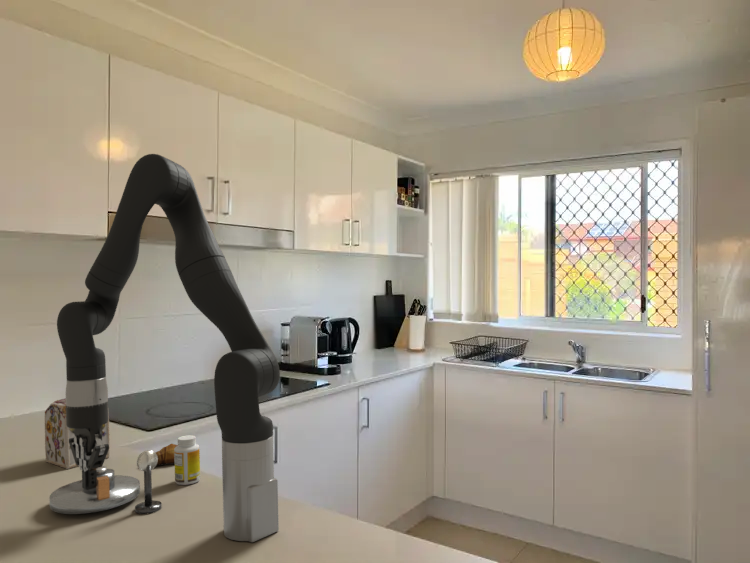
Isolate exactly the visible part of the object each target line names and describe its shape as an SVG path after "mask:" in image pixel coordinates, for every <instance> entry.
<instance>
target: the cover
mask: <svg viewBox="0 0 750 563" xmlns="http://www.w3.org/2000/svg"><path fill="white" fill-rule="evenodd" d="M96 473H97V478H98V477H103V476H108V477H109V490H111V489H113V488H114V487H115V476H114V475H115V470H114V469H113V468H107V466H104V465H102V467H99V468H97V469H96ZM83 492H84V493H87V494H96V493H97V492H96V488H93V489H90V490H86V489H84V488H83Z"/></svg>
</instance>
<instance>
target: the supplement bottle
mask: <svg viewBox="0 0 750 563" xmlns="http://www.w3.org/2000/svg"><path fill="white" fill-rule="evenodd" d="M177 445H178V446H176V447H175V449H174V461H175V464H174V482H175V484H177V485H180V486H188V485H193V484H196V483H197V482H199V481H200V479H201V460H200V459H201V455H200V454H201V453H200V445H199V444H198V443H197V440H196V436H195V435H189V434H187V435H183V436H179V437H178V438H177Z"/></svg>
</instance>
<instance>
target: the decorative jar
mask: <svg viewBox="0 0 750 563" xmlns="http://www.w3.org/2000/svg"><path fill="white" fill-rule="evenodd" d="M109 416H110V413H109V410H108V422H107V423H106V424H103V425H102V426H101V431H102V443H103V445H104V444H108V445H109V450H108V453H107V455H106V458H105V460H106V459H108V458H110V451H111V450H110V447H111V446H110V440H111V439H110V417H109ZM74 430H75V429H71V428H68V427H67V425H66V397H65V398H61V399H57V400H55V401H53V402H52V403H50V404H49V406H48V407H47V408H46V410H45V411H44V445H45V446H44V450H45V461H46V463H49V464H50V465H51V464H52V465H55V466H57V467H61V468H63V469H66V470H70V469H72V468H77V467H80V466H79V465H76V463H75V460H74V457H73V454H72V450H71V447H70V444H69V439H70V438H74V436H75V435H74Z"/></svg>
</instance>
